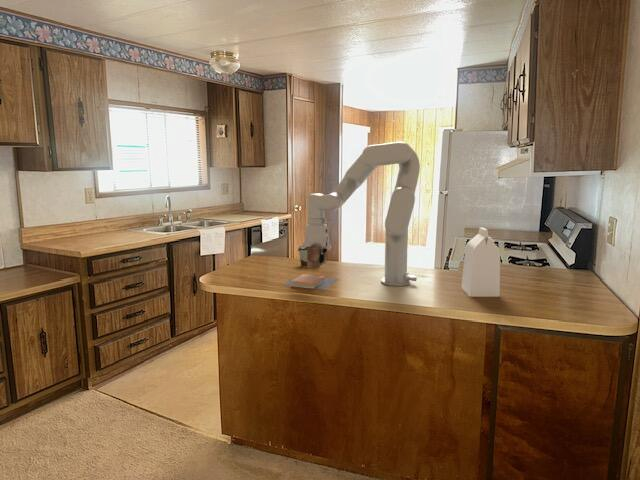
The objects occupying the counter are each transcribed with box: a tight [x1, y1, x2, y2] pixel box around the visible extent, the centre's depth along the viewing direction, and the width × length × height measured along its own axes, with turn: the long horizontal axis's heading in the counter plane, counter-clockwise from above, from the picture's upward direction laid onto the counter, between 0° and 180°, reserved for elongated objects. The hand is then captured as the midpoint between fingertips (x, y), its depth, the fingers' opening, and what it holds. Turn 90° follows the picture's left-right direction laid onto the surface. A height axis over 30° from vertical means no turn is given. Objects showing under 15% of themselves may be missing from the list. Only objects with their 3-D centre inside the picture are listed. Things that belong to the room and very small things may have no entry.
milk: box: [461, 227, 501, 298], centre depth 180 cm, size 12×12×26 cm
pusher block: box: [306, 246, 327, 270], centre depth 201 cm, size 4×12×9 cm, turn 156°
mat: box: [282, 274, 340, 291], centre depth 198 cm, size 20×17×1 cm
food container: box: [297, 245, 307, 268], centre depth 230 cm, size 12×6×10 cm, turn 84°
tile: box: [291, 273, 325, 289], centre depth 195 cm, size 10×2×12 cm
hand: (316, 261), depth 202 cm, fingers closed on pusher block, 4 cm apart
